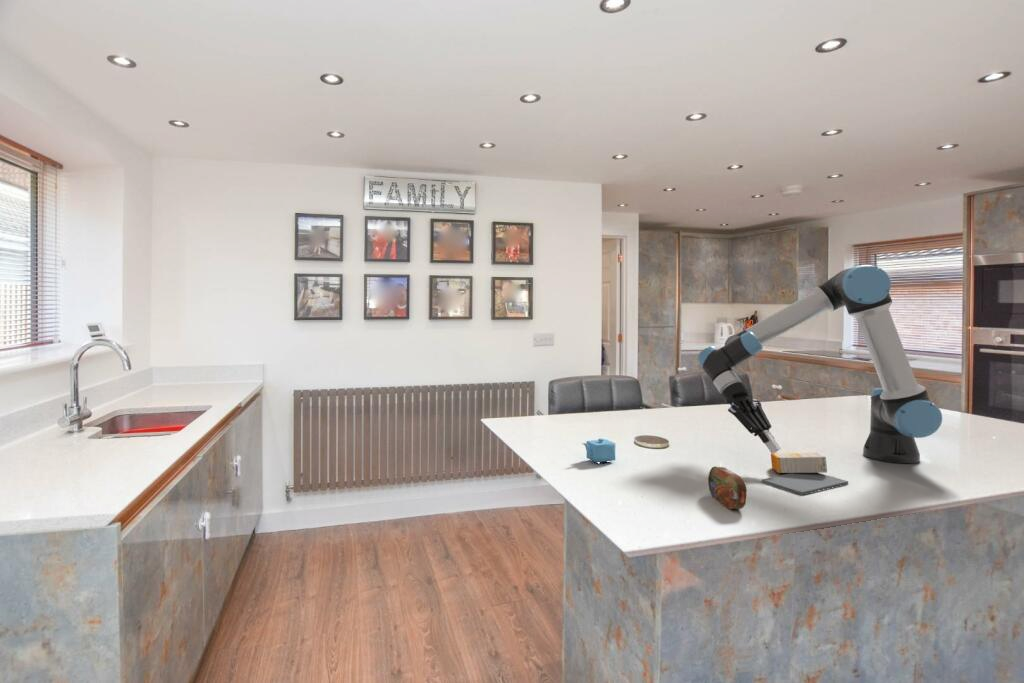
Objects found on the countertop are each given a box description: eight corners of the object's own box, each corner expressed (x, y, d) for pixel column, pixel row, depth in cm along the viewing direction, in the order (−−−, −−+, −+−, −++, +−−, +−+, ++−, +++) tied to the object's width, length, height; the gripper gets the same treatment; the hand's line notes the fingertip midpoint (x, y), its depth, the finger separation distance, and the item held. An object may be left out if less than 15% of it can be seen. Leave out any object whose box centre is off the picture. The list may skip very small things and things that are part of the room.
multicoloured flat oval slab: (706, 493, 138) (707, 462, 138) (718, 493, 138) (718, 461, 138) (735, 515, 123) (736, 480, 123) (748, 514, 123) (749, 479, 123)
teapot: (586, 466, 163) (586, 442, 162) (577, 461, 169) (577, 438, 168) (619, 462, 167) (619, 439, 167) (609, 457, 173) (609, 435, 172)
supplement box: (778, 473, 152) (827, 473, 149) (776, 457, 153) (826, 456, 149) (771, 468, 160) (818, 468, 157) (770, 452, 161) (817, 452, 157)
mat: (807, 472, 156) (807, 469, 155) (848, 484, 145) (848, 481, 145) (761, 482, 147) (761, 479, 147) (801, 495, 136) (801, 492, 136)
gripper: (738, 393, 173) (782, 454, 159) (709, 396, 167) (753, 460, 153) (752, 379, 168) (799, 441, 154) (723, 382, 162) (769, 446, 148)
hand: (776, 450), depth 153 cm, fingers closed
